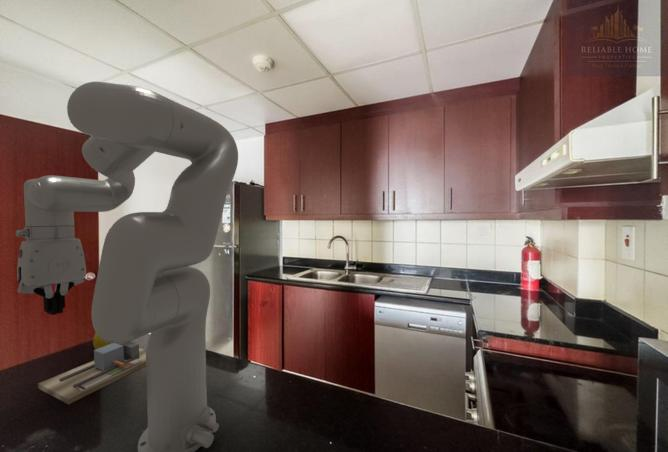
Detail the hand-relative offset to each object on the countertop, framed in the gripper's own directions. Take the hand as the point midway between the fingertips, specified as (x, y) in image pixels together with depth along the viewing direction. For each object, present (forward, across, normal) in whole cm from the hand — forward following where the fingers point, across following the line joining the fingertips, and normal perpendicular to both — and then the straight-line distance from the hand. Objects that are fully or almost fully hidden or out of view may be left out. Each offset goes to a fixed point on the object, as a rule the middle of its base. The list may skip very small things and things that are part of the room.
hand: (54, 312), depth 60 cm
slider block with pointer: (+18, +10, -2) cm, 20 cm away
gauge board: (+19, +9, 0) cm, 21 cm away
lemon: (+19, +15, +12) cm, 27 cm away
